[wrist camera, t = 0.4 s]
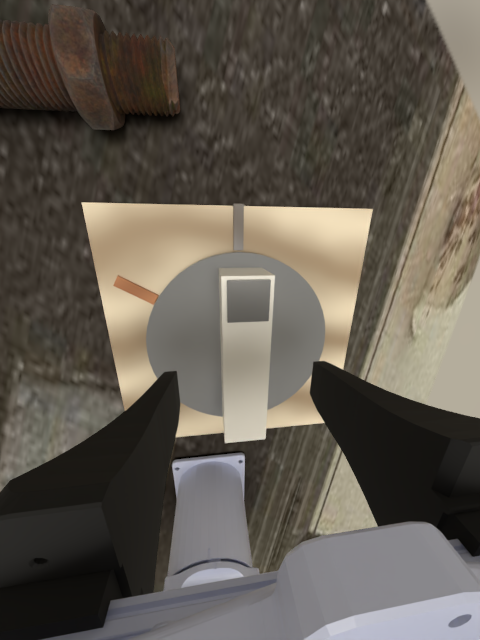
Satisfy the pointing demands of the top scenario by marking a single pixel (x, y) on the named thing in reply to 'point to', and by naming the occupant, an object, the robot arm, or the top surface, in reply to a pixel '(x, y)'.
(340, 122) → the top surface
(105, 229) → the dial board
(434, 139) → the top surface
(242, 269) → the dial
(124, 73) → the bolt
